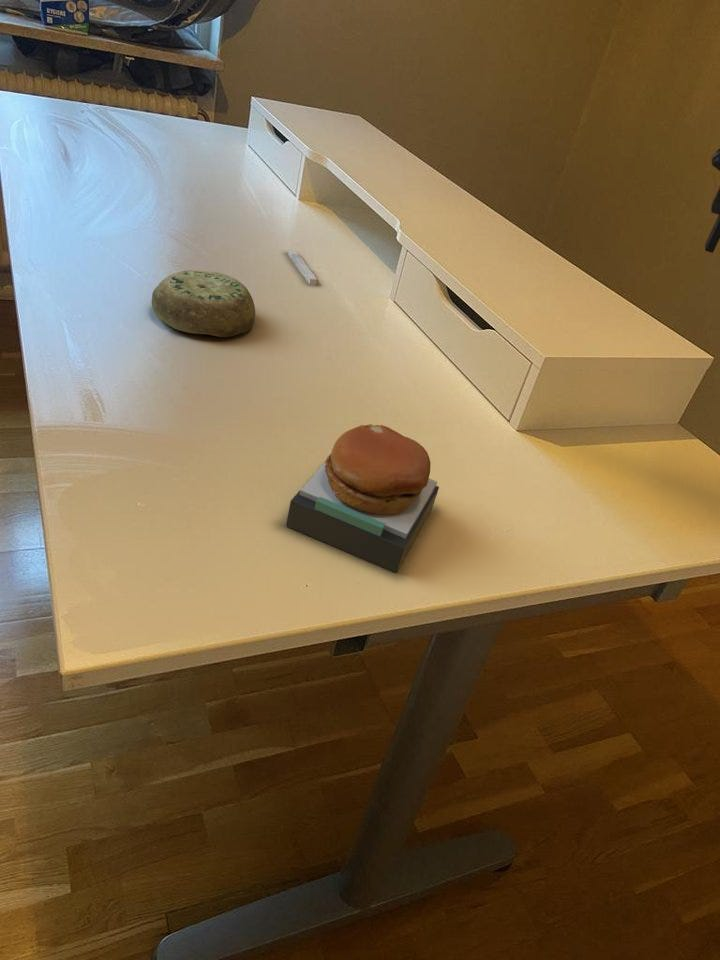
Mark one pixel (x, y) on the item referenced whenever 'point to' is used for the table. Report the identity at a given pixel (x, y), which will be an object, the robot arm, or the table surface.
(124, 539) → the table surface
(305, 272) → the light grey bar
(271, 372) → the table surface
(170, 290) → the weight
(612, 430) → the table surface
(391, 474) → the burger
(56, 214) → the table surface
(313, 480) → the scale
